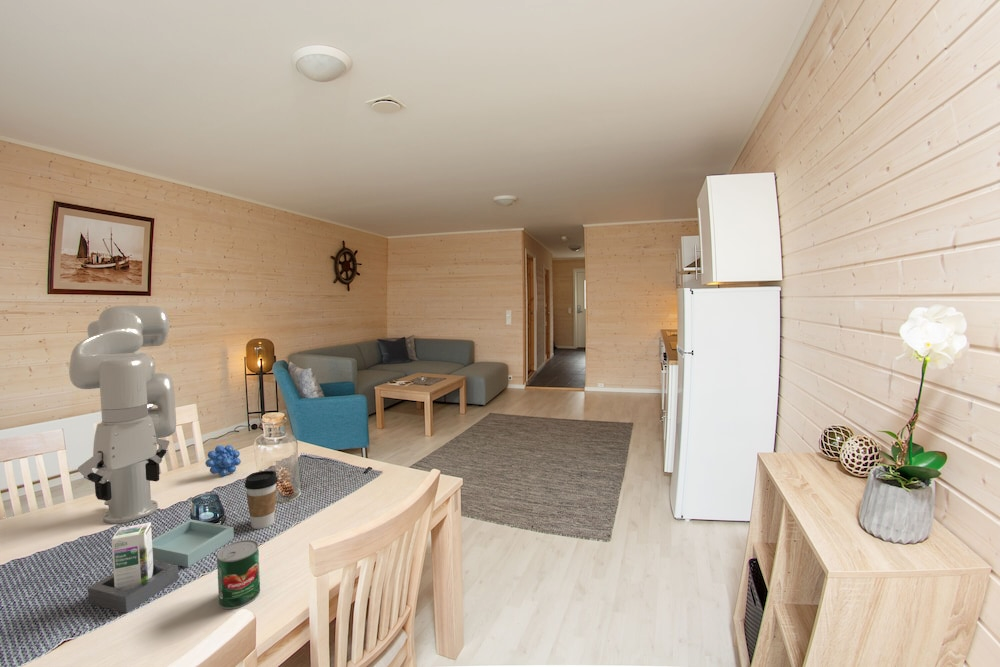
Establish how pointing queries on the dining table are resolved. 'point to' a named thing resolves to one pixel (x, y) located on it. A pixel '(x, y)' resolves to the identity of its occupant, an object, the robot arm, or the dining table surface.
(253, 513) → the coffee cup
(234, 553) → the canned tomato
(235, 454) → the grapes
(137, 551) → the syrup box
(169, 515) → the dining table surface
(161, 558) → the tray
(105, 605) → the collar
